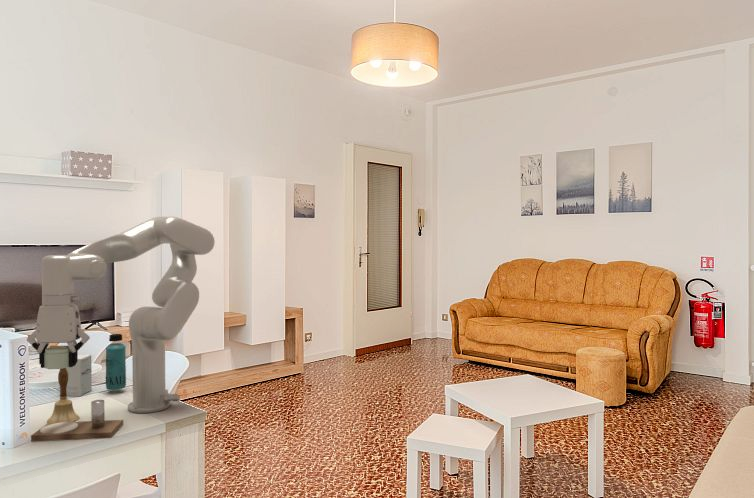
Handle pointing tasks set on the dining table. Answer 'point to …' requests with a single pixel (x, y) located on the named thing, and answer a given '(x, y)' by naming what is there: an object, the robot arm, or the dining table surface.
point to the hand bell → (63, 402)
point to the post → (97, 414)
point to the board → (76, 430)
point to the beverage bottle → (115, 364)
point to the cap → (56, 357)
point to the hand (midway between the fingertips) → (58, 365)
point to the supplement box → (80, 377)
